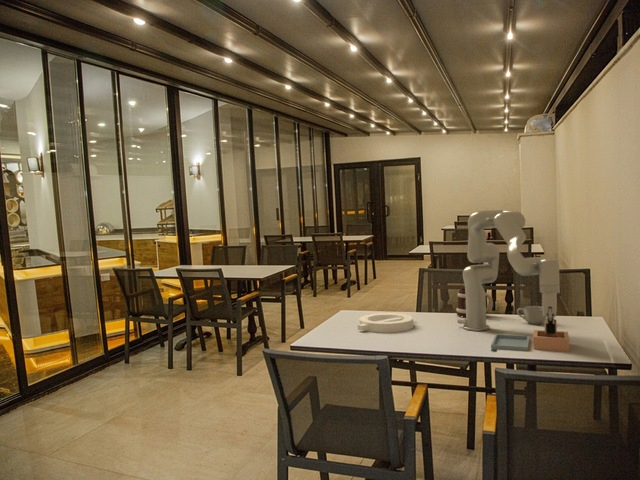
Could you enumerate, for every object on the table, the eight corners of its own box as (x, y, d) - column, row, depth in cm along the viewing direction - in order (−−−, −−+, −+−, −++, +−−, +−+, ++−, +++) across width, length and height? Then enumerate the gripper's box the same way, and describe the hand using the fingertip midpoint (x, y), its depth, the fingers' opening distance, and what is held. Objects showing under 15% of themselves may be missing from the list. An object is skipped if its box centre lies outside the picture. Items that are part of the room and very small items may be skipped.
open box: (533, 351, 198) (533, 336, 198) (534, 343, 210) (533, 330, 210) (569, 353, 193) (569, 338, 193) (568, 345, 205) (567, 331, 204)
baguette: (545, 347, 200) (544, 320, 200) (545, 344, 204) (544, 318, 204) (557, 347, 199) (556, 321, 198) (556, 345, 203) (556, 319, 202)
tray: (491, 350, 202) (491, 344, 202) (495, 339, 220) (495, 334, 220) (527, 353, 196) (527, 347, 196) (529, 341, 214) (529, 335, 214)
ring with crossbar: (412, 321, 269) (412, 312, 268) (413, 333, 241) (413, 323, 241) (362, 321, 274) (361, 313, 273) (357, 333, 246) (356, 323, 246)
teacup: (548, 322, 251) (547, 306, 251) (545, 326, 242) (544, 310, 242) (519, 320, 259) (519, 305, 258) (515, 324, 250) (515, 308, 249)
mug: (455, 318, 271) (454, 291, 271) (457, 312, 285) (456, 287, 285) (493, 319, 264) (492, 291, 264) (493, 313, 279) (492, 287, 278)
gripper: (539, 285, 210) (540, 326, 211) (539, 291, 194) (540, 335, 195) (559, 285, 207) (560, 327, 208) (560, 291, 191) (561, 336, 192)
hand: (550, 330), depth 201 cm, fingers open, 7 cm apart
